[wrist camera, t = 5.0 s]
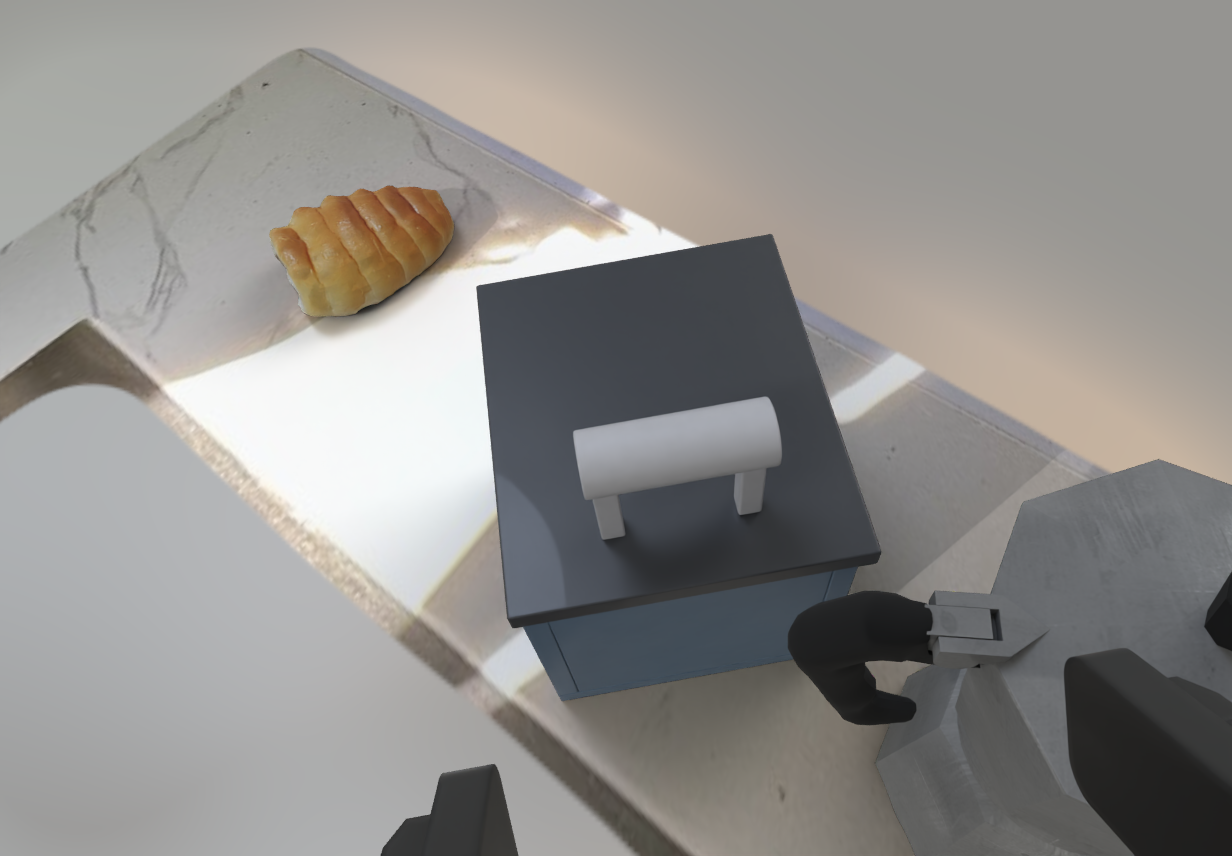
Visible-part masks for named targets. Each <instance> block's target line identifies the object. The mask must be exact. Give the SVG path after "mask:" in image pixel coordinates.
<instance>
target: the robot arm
mask: <svg viewBox="0 0 1232 856" xmlns="http://www.w3.org/2000/svg"><path fill="white" fill-rule="evenodd" d="M1064 686H1065V702H1066V718H1067V734H1068V750H1069V760H1070V765H1071V769H1072V772H1073V775H1074V778H1075V780H1076V783H1077V785H1078V787H1079V789H1080V791H1081V793H1082V795H1083V797H1084V798H1085V800H1086V801H1087V802H1088V804H1089V805H1090V806H1091V807H1092V808H1093V810H1094V811H1095V812H1096V813H1097V814H1098V815H1099V816H1100V817H1101V818H1102V820H1103V821H1104V822H1105V823H1106V824H1107V825H1108V826H1109V827H1110V829H1111V830H1112V831H1113V832H1114V833H1115V834H1116V835H1117V836H1118V837H1119V839H1120V840H1121V841H1122V842H1123V843H1124V844H1125V845H1126V846H1127V847H1128V849H1129V850H1130V851H1131V852H1132V853H1133V854H1134V855H1135V856H1232V702H1231V701H1229V700H1228V699H1226V698H1225V697H1224V696H1222V695H1221V694H1219V693H1217V692H1215V691H1212V690H1210V689H1207V688H1205V687H1202V686H1200V685H1197V684H1195V683H1192V682H1190V681H1187V680H1185V679H1182V678H1180V677H1177V676H1175V677H1170V678H1167V677H1166V676H1165V675H1163V674H1162V673H1161V672H1159V671H1158V670H1157V669H1155V668H1154V667H1153V666H1151V665H1150V664H1149V663H1147V662H1146V661H1145V660H1143V659H1142V658H1141V657H1139V656H1138V655H1137V654H1135V653H1134V652H1133V651H1131V650H1130V649H1127V648H1117V649H1112V650H1106V651H1101V652H1096V653H1090V654H1085V655H1079V656H1074V657H1070V658H1068V659H1067V661H1066V663H1065V666H1064ZM381 856H518V852H517V848H516V843H515V839H514V835H513V831H512V826H511V822H510V818H509V813H508V809H507V804H506V800H505V795H504V791H503V787H502V782H501V778H500V775H499V772H498V769H497V767H496V765H495V764H491V765H486V766H480V767H475V768H469V769H464V770H458V771H453V772H447V773H442V774H441V776H440V778H439V782H438V786H437V790H436V794H435V798H434V802H433V806H432V810H431V814H430V815H425V816H420V817H414V818H409V819H406V820H405V821H404V822H403V824H402V825H401V826H400V827H399V829H398V830H397V831H396V833H395V834H394V835H393V836H392V837H391V839H390V840H389V841H388V842H387V844H386V845H385V846H384V847H383V850H382V853H381Z"/></svg>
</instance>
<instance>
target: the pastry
mask: <svg viewBox="0 0 1232 856" xmlns="http://www.w3.org/2000/svg"><path fill="white" fill-rule="evenodd" d="M453 232H454V222H453V220H452V218H451V215H450V213H449V211H448V209H447V208H446V206H445V205H444V203H443V200H442V198H441V196H440V195H439V194H438V192H437V191H435V190H428V189H421V188H418V187H402V188H395V187H393V186H386V187H384V188H382V189H380V190H378V191H375V192H371V191H368V190H365V189H359V190H357V191H356V192H354V193H353V194H352V195H350V196H331V195H330V196H327V197H326V198H325V199H324V200H323V202H322V203H321V206H320V207H318V208H311V207H301V208H298V209H296V210H295V211H294V213H293V216H292V218H291V220H290V223H289V224H288V226H286V227H281V228H274V229H272V230H271V231H270V234H269V235H270V238H271V246H272V249H273V252H274V255H275V257H276V258H277V259H278V260H279V261H280V262H281V264H282V265H283V266H284V267H285V268H286V269H287V278H288V280H289V281H290V283H291V285H292V286H293V287H294V289H295V290H296V291H297V292H298V294H299V297H298V305H299V306H300V308H301V309H302V312H303V313H305V314H307V315H310V316H335V317H338V316H347V315H352V314H356V313H357V312H358V311H359V310H360V309H362V308H364V307H366V306H369V305H372V304H378V303H379V302H381V301H382V300H384V299H385V298H387V297H388V296H390V295H392V294H394V292H395V291H396V290H397V289H399V288H401V287H403V286H404V285H406V284H409V283H410V281H411V280H412V279H413V278H414V277H416V276H417V275H419V276H420V274H421V273H422V272H423V271H424V270H426V269H427V268H428V267H430V266H431V265H432V264H433V263H434V262H435V261H436V260H437V259H438V258H439V257H440V256H441V254H442V253H443V251H444V249H445V248H446V246H447V245H448V244H449V243H450V241H451V240H452V237H453Z"/></svg>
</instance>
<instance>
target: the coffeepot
mask: <svg viewBox="0 0 1232 856" xmlns="http://www.w3.org/2000/svg"><path fill="white" fill-rule="evenodd" d="M1117 648H1127V649H1130V650H1131V651H1133V652H1134V653H1135V654H1137V655H1138V656H1139V657H1141V658H1142V659H1143V660H1145V661H1146V662H1147V663H1149V664H1150V665H1151V666H1153V667H1154V668H1155V669H1157V670H1158V671H1159V672H1161V673H1162V674H1163V675H1165V676H1166V677H1167V678H1170V677H1175V676H1177V677H1180V678H1182V679H1185V680H1187V681H1190V682H1192V683H1195V684H1197V685H1200V686H1202V687H1205V688H1207V689H1210V690H1212V691H1215V692H1217V693H1219V694H1221V695H1222V696H1224V697H1225V698H1226V699H1228V700H1229V701H1231V702H1232V485H1230V484H1227V483H1225V482H1222V481H1219V480H1216V479H1213V478H1210V477H1208V476H1205V475H1202V474H1199V473H1196V472H1193V471H1191V470H1188V469H1185V468H1182V467H1179V466H1177V465H1174V464H1171V463H1168V462H1165V461H1162V460H1159V459H1158V460H1154V461H1151V462H1148V463H1145V464H1142V465H1138V466H1135V467H1132V468H1129V469H1126V470H1123V471H1119V472H1116V473H1113V474H1110V475H1107V476H1104V477H1100V478H1097V479H1094V480H1091V481H1088V482H1085V483H1081V484H1078V485H1075V486H1072V487H1069V488H1066V489H1062V490H1059V491H1056V492H1053V493H1050V494H1047V495H1043V496H1040V497H1037V498H1034V499H1031V500H1028V501H1024V502H1023V503H1022V505H1021V508H1020V511H1019V514H1018V517H1017V520H1016V522H1015V525H1014V528H1013V531H1012V534H1011V537H1010V540H1009V542H1008V545H1007V548H1006V551H1005V554H1004V557H1003V560H1002V563H1001V565H1000V568H999V571H998V574H997V577H996V580H995V583H994V585H993V588H992V591H991V594H980V593H965V592H950V591H934V593H933V595H932V596H931V598H930V600H929V605H927V603H922V602H918V601H913V600H910V599H908V598H905V597H903V596H901V595H898V594H896V593H888V592H881V591H862V592H859V593H855V594H851V595H847V596H843V597H840V598H836V599H832V600H828V601H825V602H821V603H818V604H816V605H814V606H812V607H810V608H808V609H806V610H805V611H803V612H802V613H800V614H799V615H797V617H796V619H795V621H794V622H793V624H792V626H791V627H790V630H789V632H788V650H789V652H790V654H791V656H792V657H793V659H794V660H795V662H796V663H797V665H798V667H799V668H800V669H801V670H802V671H803V672H804V673H805V674H806V675H807V676H808V677H809V678H810V679H811V680H812V681H813V683H814V684H815V685H816V686H817V688H818V689H819V690H820V692H821V693H822V694H823V695H824V697H825V698H826V700H827V701H828V702H830V704H831V705H832V706H833V707H834V708H835V709H836V710H837V711H838V713H839V714H840V715H841V717H842V718H843V719H844V720H847V721H849V722H852V723H854V724H857V725H879V724H890V725H889V728H888V730H887V733H886V736H885V738H884V741H883V744H882V746H881V749H880V752H879V754H878V757H877V759H876V762H875V764H876V766H877V768H878V771H879V773H880V775H881V778H882V780H883V782H884V785H885V787H886V789H887V792H888V795H889V798H890V801H891V803H892V806H893V809H894V812H895V814H896V816H897V818H898V820H899V822H900V824H901V826H902V827H903V829H904V831H905V833H906V835H907V838H908V840H909V842H910V844H911V847H912V849H913V851H914V854H915V856H1135V855H1134V854H1133V853H1132V852H1131V851H1130V850H1129V849H1128V847H1127V846H1126V845H1125V844H1124V843H1123V842H1122V841H1121V840H1120V839H1119V837H1118V836H1117V835H1116V834H1115V833H1114V832H1113V831H1112V830H1111V829H1110V827H1109V826H1108V825H1107V824H1106V823H1105V822H1104V821H1103V820H1102V818H1101V817H1100V816H1099V815H1098V814H1097V813H1096V812H1095V811H1094V810H1093V808H1092V807H1091V806H1090V805H1089V804H1088V802H1087V801H1086V800H1085V798H1084V797H1083V795H1082V793H1081V791H1080V789H1079V787H1078V785H1077V783H1076V780H1075V778H1074V775H1073V772H1072V769H1071V765H1070V760H1069V750H1068V734H1067V718H1066V702H1065V686H1064V666H1065V663H1066V661H1067V659H1068V658H1070V657H1074V656H1079V655H1085V654H1090V653H1096V652H1101V651H1106V650H1112V649H1117ZM881 660H884V661H896V662H902V661H906V660H909V661H915V662H921V663H927V664H932V665H930V666H928V667H926V668H924V669H922V670H920V671H918V672H916V673H914V674H912V675H910V676H908V678H907V680H906V683H905V685H904V688H903V691H902V693H901V696H898V695H894V694H890V693H886V692H883V691H879V690H876V679H875V678H874V677H873V675H872V674H871V673H870V671H869V670H868V668H867V667H866V666H865V662H868V661H881Z"/></svg>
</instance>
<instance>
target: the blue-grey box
mask: <svg viewBox="0 0 1232 856" xmlns="http://www.w3.org/2000/svg"><path fill="white" fill-rule="evenodd" d="M857 568H858V567H853V568H847V569H841V570H836V571H830V572H825V573H819V574H814V575H808V576H803V577H797V578H791V579H786V580H780V581H775V582H769V583H764V584H758V585H753V586H747V587H741V588H736V589H730V590H725V591H719V592H714V593H708V594H702V595H697V596H691V597H686V598H680V599H675V600H669V601H664V602H658V603H652V604H647V605H641V606H636V607H630V608H625V609H619V610H614V611H608V612H602V613H597V614H591V615H586V616H580V617H575V618H569V619H563V620H558V621H552V622H547V623H541V624H536V625H530V626H525V627H523V628H524V630H525V632H526V634H527V636H528V638H529V640H530V641H531V643H532V645H533V647H534V649H535V651H536V653H537V655H538V657H539V659H540V661H541V663H542V665H543V666H544V668H545V670H546V672H547V674H548V676H549V678H550V680H551V682H552V684H553V686H554V688H555V689H556V691H557V693H558V695H559V697H560V699H561V701H565V700H571V699H576V698H582V697H587V696H593V695H598V694H604V693H610V692H615V691H621V690H626V689H632V688H637V687H643V686H648V685H654V684H659V683H665V682H670V681H676V680H681V679H687V678H693V677H698V676H704V675H709V674H715V673H720V672H726V671H731V670H737V669H742V668H748V667H753V666H759V665H764V664H770V663H776V662H781V661H787V660H792V659H793V657H792V656H791V654H790V652H789V650H788V632H789V630H790V627H791V626H792V624H793V622H794V621H795V619H796V617H797V615H799V614H800V613H802V612H803V611H805V610H806V609H808V608H810V607H812V606H814V605H816V604H818V603H821V602H825V601H828V600H832V599H836V598H840V597H843V596H847V595H848V592H849V589H850V587H851V584H852V581H853V579H854V576H855V573H856V571H857Z"/></svg>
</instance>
